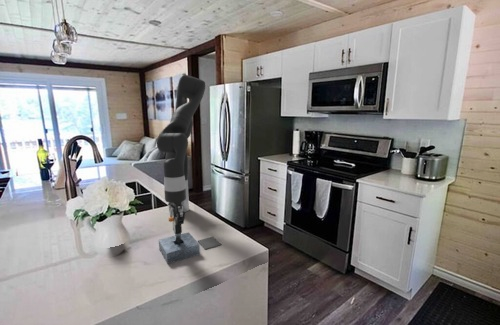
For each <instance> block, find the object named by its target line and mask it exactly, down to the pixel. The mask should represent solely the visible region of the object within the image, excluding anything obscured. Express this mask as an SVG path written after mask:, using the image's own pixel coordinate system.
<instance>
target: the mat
mask: <svg viewBox="0 0 500 325" xmlns="http://www.w3.org/2000/svg"><path fill="white" fill-rule="evenodd" d="M197 242H198V243H199V246H201V247H202V248H203V249H204V250H209V249H213V248H216V247H220V246H222V243H221V242H220V241H219V240H218V239H216V237H215V236H210V237H206V238H202V239H198V240H197Z"/></svg>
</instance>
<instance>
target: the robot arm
mask: <svg viewBox="0 0 500 325" xmlns="http://www.w3.org/2000/svg"><path fill="white" fill-rule="evenodd" d="M205 91H206V82H205V81H204V80H202V79H200V78H197V77H195V76H191V75H188V74H182V75H181V76H180V77H179V80H178V83H177V91H176V98H175V99H176V100H175V108H174V112H173V114H172V116H171V118H170V121H169V123H168V124H167V125H166V126H164V128H163V129H162V130H161V131H160V133H159V134H158V136H157V139H156V148H157V149H158V150H159V152H161V153H165V159H164V162H163V175H164V176H163V177H164V179H163V188H164V189H163V190H164V201H165V202H166V203H167V206H168V209H169V210H168V211H169V215H170V217H172V214H173V218H174V221H175V233H176V234H180V233H181V234H183V233H182V232H183V231H182V230H183V229H182V225H183V224H185V223H184V222H185V216H186V212H188V211H190V202H189V200H190V199H189V181H188V179H189V178H188V176H189V170H188V169H189V155H188V153H187V150H188V146H189V137H191V134H192V131H193V130H192V129H193V124H194V122H193V119H192V118H193V116H194V115H195V113H196V111H197V110H198V108H199V105H200V103H201V102H202V99H203V98H204V95H205ZM186 99H189V101H188V102H187V101H186ZM176 215H177V216H176ZM170 217H169V218H170ZM172 230H173V231H174V228H173V227H172Z"/></svg>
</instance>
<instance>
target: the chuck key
mask: <svg viewBox="0 0 500 325" xmlns="http://www.w3.org/2000/svg"><path fill="white" fill-rule="evenodd" d="M176 216H177V215H176ZM168 222H170V223H171V222H172V229H173V228H174V230H173V234H174V235H173V236H175V243H180V242H182V238H181V234H182V233H180V234H176V233H175V221H174V218H173V214H172V217H168Z"/></svg>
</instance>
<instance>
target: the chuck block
mask: <svg viewBox="0 0 500 325" xmlns="http://www.w3.org/2000/svg"><path fill="white" fill-rule="evenodd" d="M181 238H182V242H180V243H175V236H174V235H173V236H168V237H164V238H161V239H160V238H159V239H158V249H159V251H160V253H161V254H162V256H163V259H164V260H165V262H166V264H167V265H168V264H169V265H170V264H171V263H175V262H178V261H181V260H186V259H188V258H191V257H192V258H193V257H196V256H198V255H200V253H201V251H200V250H201V249H200V243H199V242H198V240H196V238H194V237H193V235H192V234H191V233H190V232H185V233H181Z"/></svg>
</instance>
